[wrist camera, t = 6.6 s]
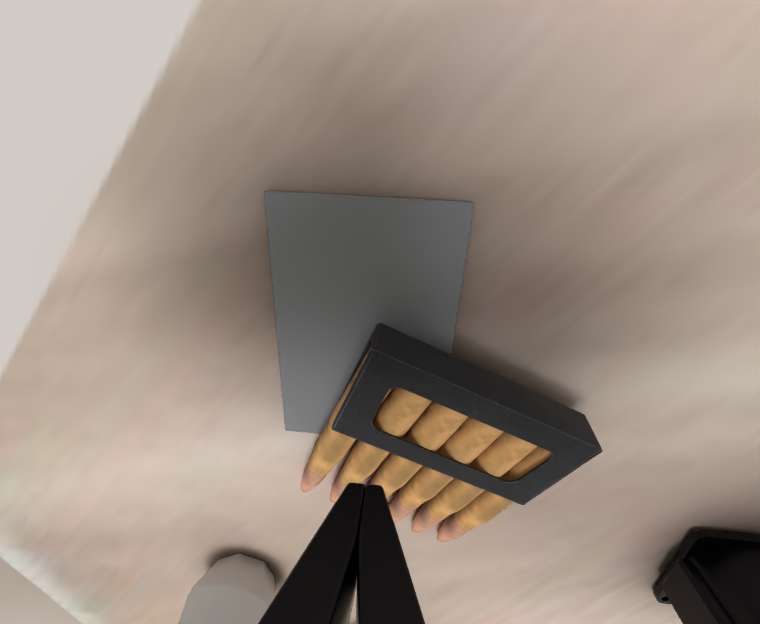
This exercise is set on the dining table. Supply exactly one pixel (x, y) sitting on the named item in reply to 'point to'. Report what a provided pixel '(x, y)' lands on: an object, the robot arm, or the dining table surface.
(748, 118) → the dining table surface
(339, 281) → the mat
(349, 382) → the ammunition clip
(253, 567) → the salt shaker
